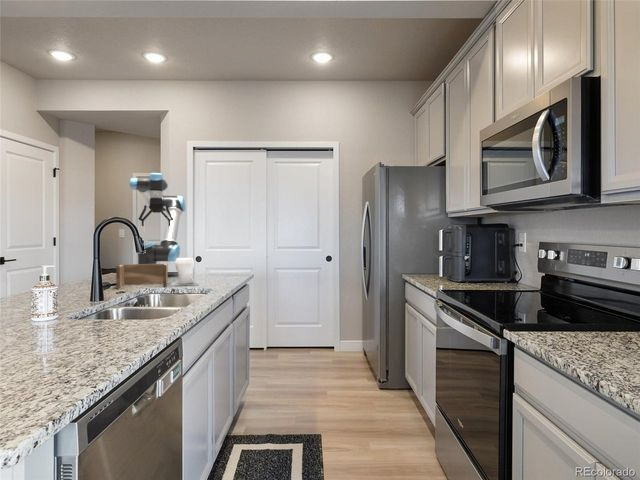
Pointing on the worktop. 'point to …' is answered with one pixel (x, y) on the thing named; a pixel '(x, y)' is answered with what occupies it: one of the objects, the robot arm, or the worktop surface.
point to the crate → (141, 274)
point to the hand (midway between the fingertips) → (156, 231)
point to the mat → (185, 284)
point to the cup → (184, 269)
